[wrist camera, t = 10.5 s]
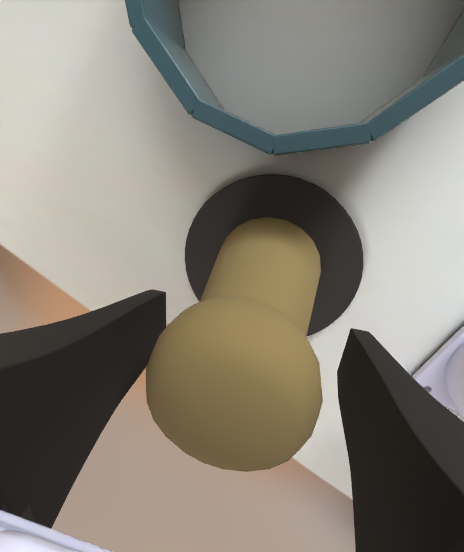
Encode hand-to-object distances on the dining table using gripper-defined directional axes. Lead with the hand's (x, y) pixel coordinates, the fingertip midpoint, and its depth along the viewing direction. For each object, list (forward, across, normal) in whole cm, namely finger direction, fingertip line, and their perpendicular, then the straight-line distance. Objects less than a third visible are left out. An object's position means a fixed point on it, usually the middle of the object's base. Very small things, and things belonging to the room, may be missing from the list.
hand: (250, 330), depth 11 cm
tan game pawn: (+7, 0, 0) cm, 7 cm away
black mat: (+7, 0, 0) cm, 7 cm away
